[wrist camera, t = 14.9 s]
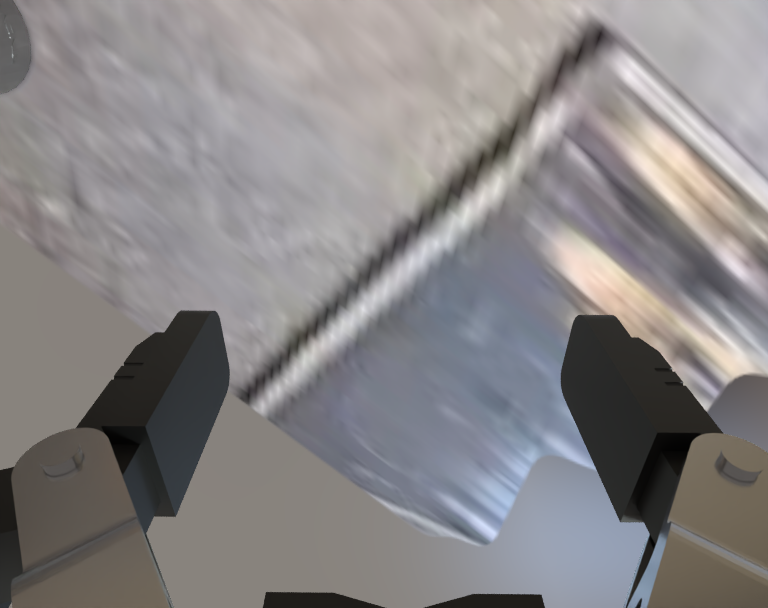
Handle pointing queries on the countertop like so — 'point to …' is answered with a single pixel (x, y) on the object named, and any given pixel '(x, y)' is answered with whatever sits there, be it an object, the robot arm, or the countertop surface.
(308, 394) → the countertop surface
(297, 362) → the countertop surface
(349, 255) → the countertop surface
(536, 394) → the countertop surface
